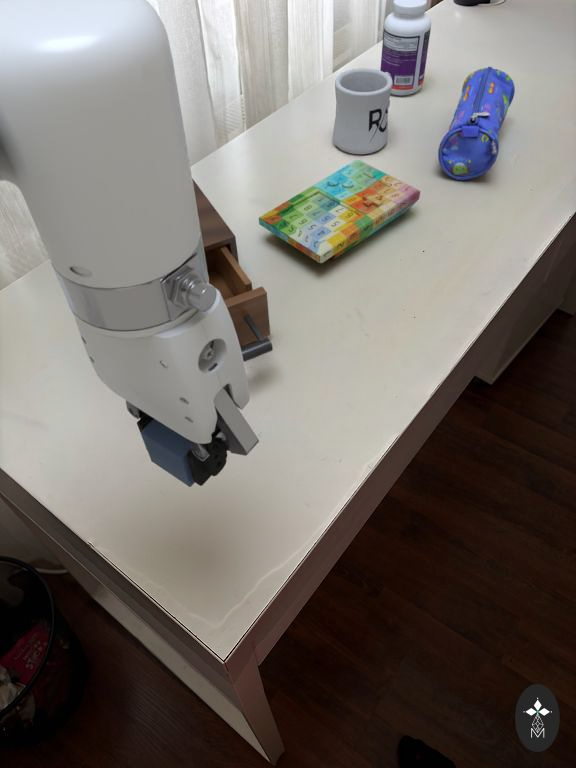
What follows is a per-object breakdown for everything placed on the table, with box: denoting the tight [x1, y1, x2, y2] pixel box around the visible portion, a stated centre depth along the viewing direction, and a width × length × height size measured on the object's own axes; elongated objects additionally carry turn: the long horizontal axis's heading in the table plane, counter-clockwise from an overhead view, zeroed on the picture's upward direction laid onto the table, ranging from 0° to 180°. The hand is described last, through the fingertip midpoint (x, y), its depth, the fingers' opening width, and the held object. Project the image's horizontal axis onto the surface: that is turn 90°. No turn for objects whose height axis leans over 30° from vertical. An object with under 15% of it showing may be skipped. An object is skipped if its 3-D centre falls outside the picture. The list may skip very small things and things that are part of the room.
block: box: [140, 419, 196, 488], centre depth 44 cm, size 4×4×4 cm
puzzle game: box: [258, 159, 421, 264], centre depth 83 cm, size 12×5×20 cm
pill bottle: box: [379, 0, 432, 96], centre depth 104 cm, size 8×8×14 cm
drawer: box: [204, 245, 274, 363], centre depth 68 cm, size 19×11×7 cm, turn 27°
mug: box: [332, 67, 393, 155], centre depth 95 cm, size 12×9×10 cm
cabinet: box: [192, 177, 240, 265], centre depth 76 cm, size 15×13×9 cm
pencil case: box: [437, 66, 516, 181], centre depth 92 cm, size 22×9×10 cm, turn 160°
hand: (187, 453), depth 45 cm, fingers closed on block, 4 cm apart
